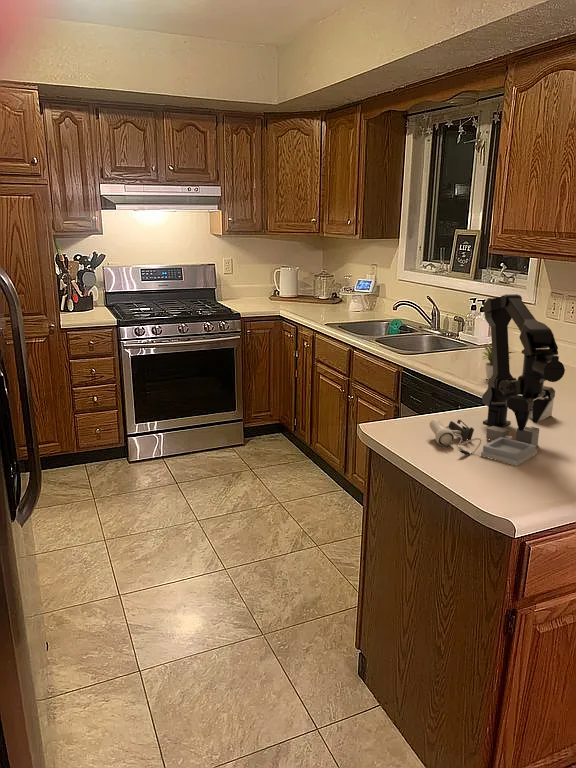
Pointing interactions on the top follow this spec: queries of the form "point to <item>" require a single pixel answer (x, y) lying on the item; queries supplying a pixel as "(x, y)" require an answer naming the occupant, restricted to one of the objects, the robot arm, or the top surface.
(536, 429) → the brick
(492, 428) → the cable plug
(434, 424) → the clip-on lamp
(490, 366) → the house plant
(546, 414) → the medicine box
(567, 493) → the top surface
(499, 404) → the robot arm
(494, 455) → the blue gray tray
